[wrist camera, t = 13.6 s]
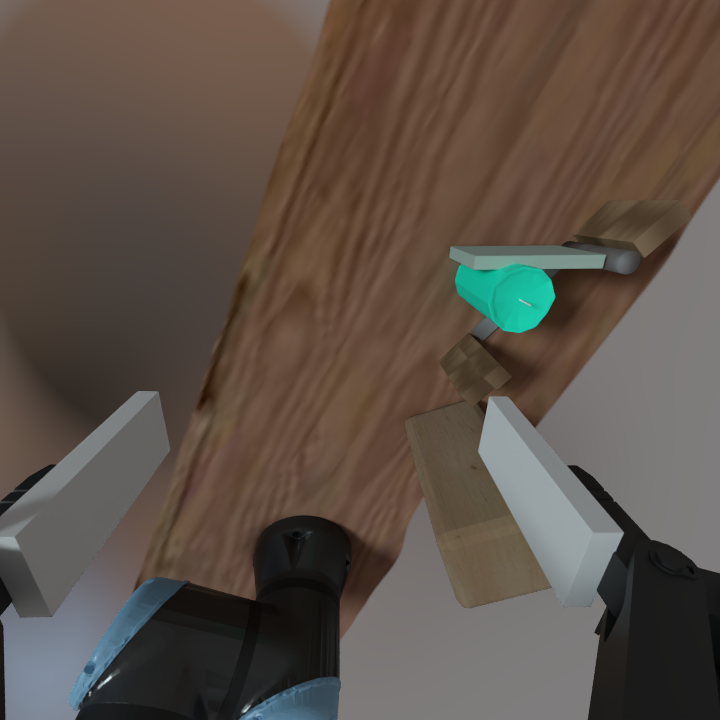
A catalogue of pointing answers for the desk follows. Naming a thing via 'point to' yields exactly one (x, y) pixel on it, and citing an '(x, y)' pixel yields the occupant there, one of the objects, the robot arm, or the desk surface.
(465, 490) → the wooden block
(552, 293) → the candle
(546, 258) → the sage green plank
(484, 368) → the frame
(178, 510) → the desk surface
